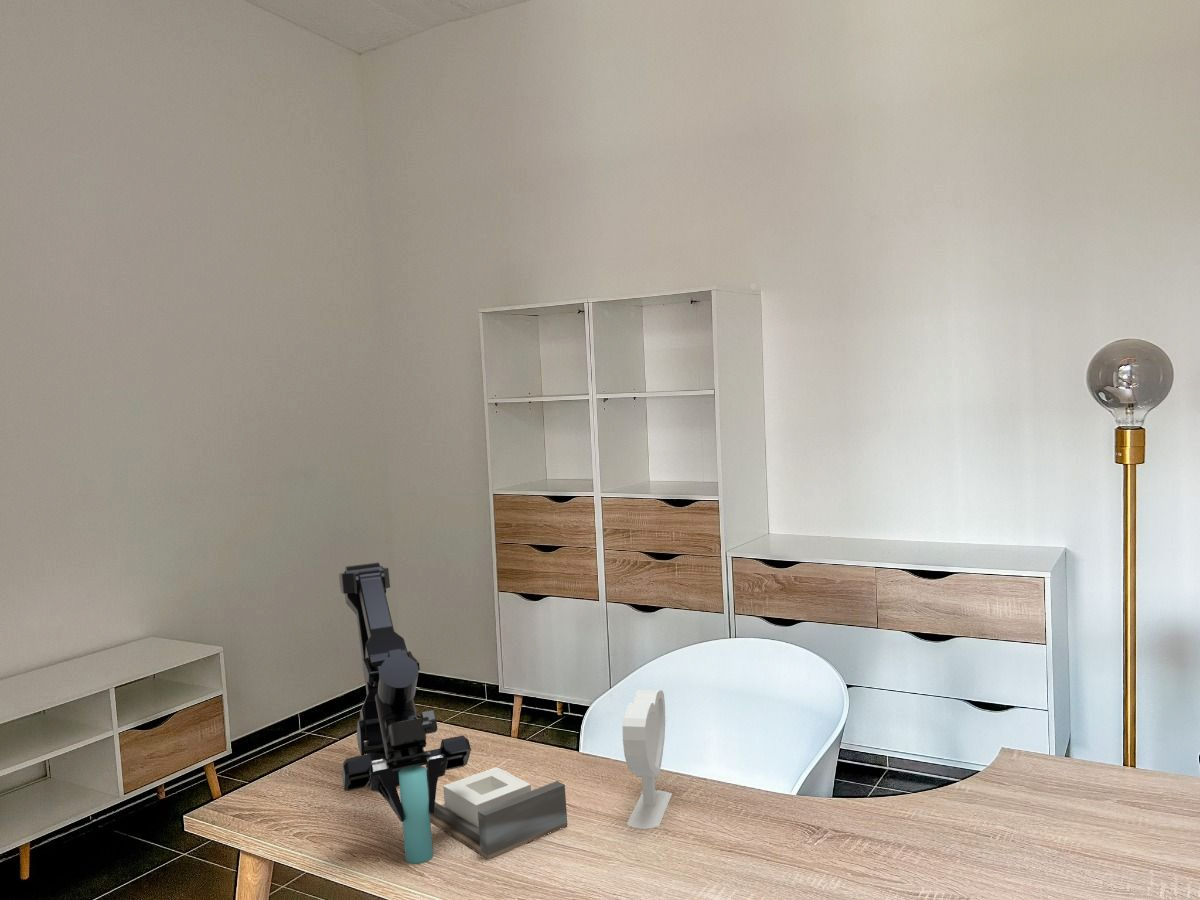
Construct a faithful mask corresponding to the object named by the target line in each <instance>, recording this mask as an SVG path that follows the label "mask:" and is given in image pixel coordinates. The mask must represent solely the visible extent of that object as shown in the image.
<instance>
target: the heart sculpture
mask: <svg viewBox="0 0 1200 900" xmlns="http://www.w3.org/2000/svg"><path fill="white" fill-rule="evenodd" d="M665 702H666V701H665V693H664V691H663V690H661V689H658V690H657V689H638V690H636V692H635V694H634V698H633V702H631V701H630V702H629V703H628V705H627V707H626V709H625V713H624V716H623V720H622V744H623V753H624V758H625V761H626V763H625V764H626V766H627V768H628V770H629V771H630V772H631V773H632V774H633V775H635V776H636V777H637V778H641V784H642V792H641V794H640V796H639V798H638V801H637V803H636V804H635V806H634V808H633V811H632V813H631V814H630V817H629V818H628V821H627V823H626V825H627V824H628V825H627V826H629V827H631V826H632V828H634V829H639V828H640V830H644V829H645V830H647V829H653V828H659V827H660V824H661V822H662V820H663V817H664V814H665V812H666V810H667V807H668V804H669V803H670V800H671V798H672V795H673V793H672V792H668V791H665V790H660V789H657V790H656V779H659V778H660V775H661V767H662V760H663V756H664V745H665V737H666V736H665V735H666V703H665Z"/></svg>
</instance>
